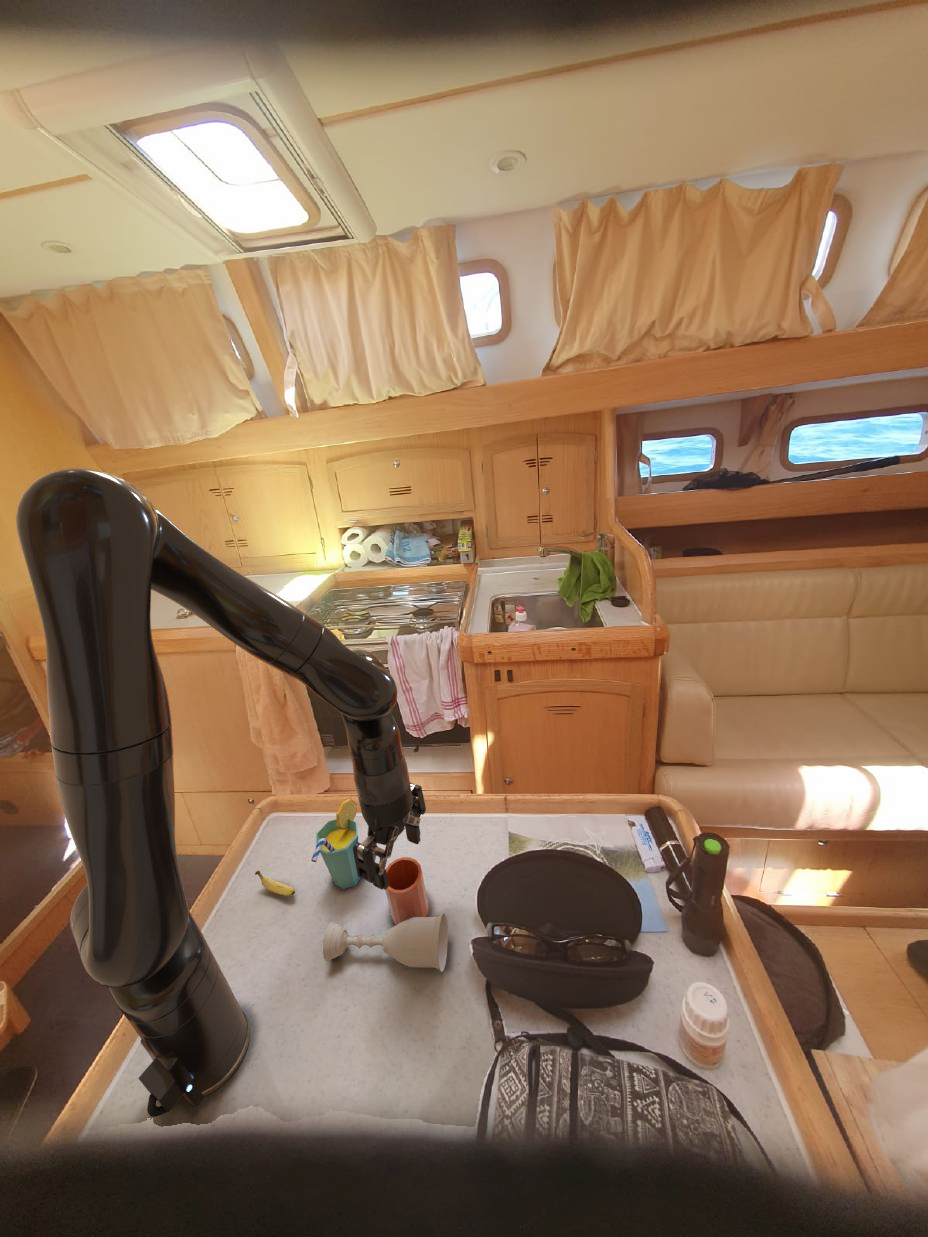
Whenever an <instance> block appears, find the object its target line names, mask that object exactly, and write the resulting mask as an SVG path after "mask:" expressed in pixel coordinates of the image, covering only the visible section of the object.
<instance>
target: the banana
mask: <svg viewBox="0 0 928 1237" xmlns="http://www.w3.org/2000/svg"><path fill="white" fill-rule="evenodd" d="M254 875H255V876H256V875H257V876H258V877H259V879H260V880H261V881H260V882H261V885H262V887H263V888H264V889H266V890H267V891H268V892H271V893H274V894H276V895H280V896H284V897H292V896H294V895H295V893H296V891H295V889H294V887H292V886H291V885H288V884H286V883H282V882H279V881H276V880H273V879H271V878H269V877H266V876H264V875H263V874H262V873H261V870H256V871H255V873H254Z"/></svg>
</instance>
